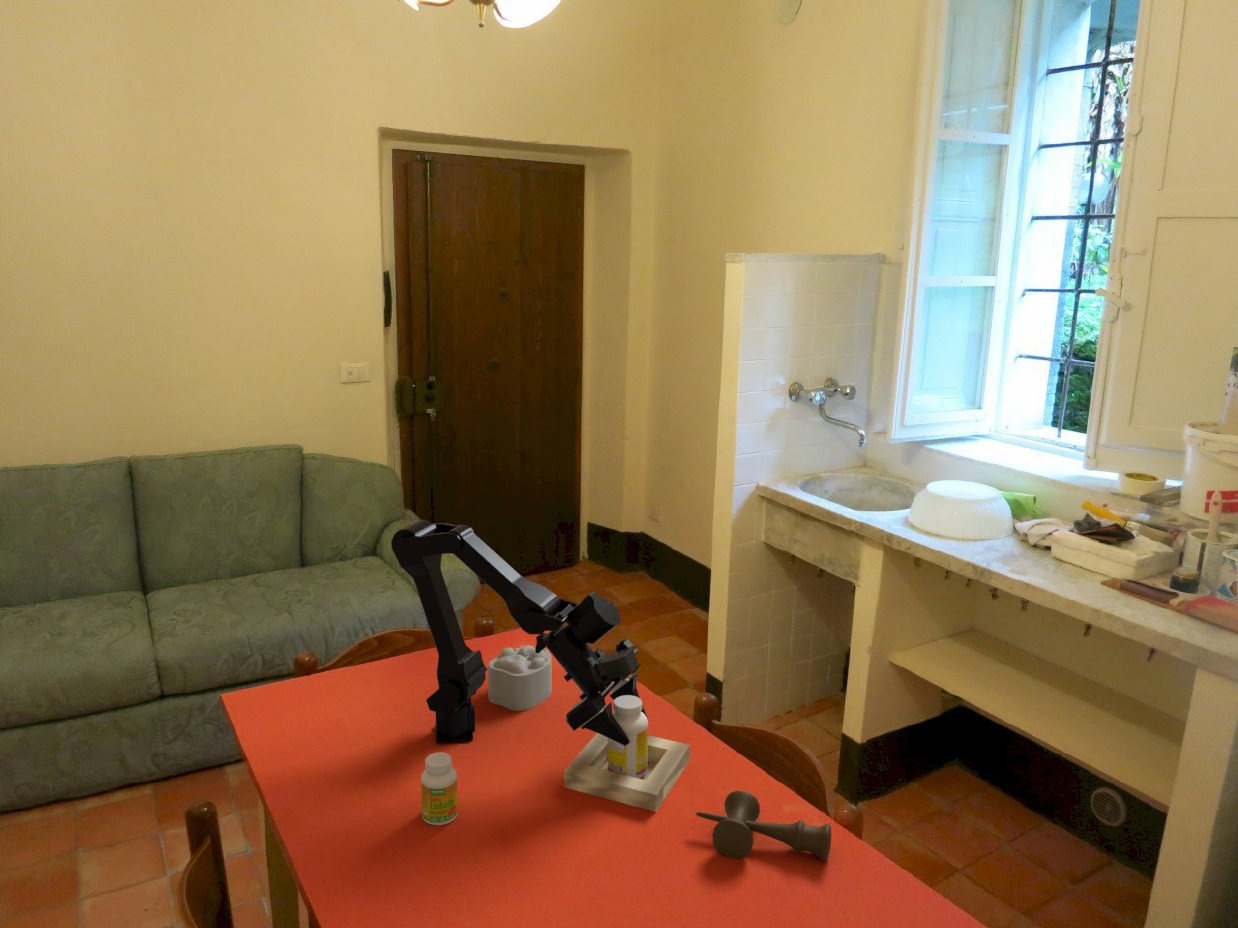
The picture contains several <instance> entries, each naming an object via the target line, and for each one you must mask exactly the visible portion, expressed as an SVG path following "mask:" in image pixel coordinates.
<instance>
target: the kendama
mask: <svg viewBox="0 0 1238 928" xmlns="http://www.w3.org/2000/svg"><path fill="white" fill-rule="evenodd" d="M724 812H725V814H726V816H724V815H719V814H715V813H709V812H701V811H697V812H695V815H696V816H697V817H699V818H702V819H705V820H710V821H714V822H718V823H716V825H715V826H714V828H713V831H712V836H711V837H712V843H713V845H714V847H715V849H716V850H717V851H718V852H719V853H720V854H721V855H723V856H725V857H728V858H734V859H741V858H745V857H748V855H749V854H750V853H751V852H752V849H753V847H754V836H753V833H752V832H755V833H757V834H760V835H763V836H766V837H769V838H772V839H774V840H777V841H779V842H782V843H784V844H786V845H788V846H789V847H790V848H791V849H792V850H793V852H795V853H798V852H799V853H800V852H803V851H804V852H808V853H811V854H813V855H816V856H817V857H818V858H819V859H820V861H822V862H826V861H827V859H828V857H829V855H830V852H831V845H832V827H831V825H830V823H825V824H823V825H821V826H812V825H808V824H806V823H805V822H804V821H803V820H802V819H799V820H798V821H796V822H794V823H774V822H763V821H757V820H758V819H759V816H760V813H761V806H760V803H759V801H758V798H757V797H756V796H755V795H754V794H752V793H751V792H748V791H744V790H734V791H731V792H730V793H728V795H727V796H726V797H725V800H724Z"/></svg>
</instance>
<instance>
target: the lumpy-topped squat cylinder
mask: <svg viewBox="0 0 1238 928" xmlns="http://www.w3.org/2000/svg"><path fill="white" fill-rule="evenodd" d="M535 649H536V646H533V645H527V644H526V645H523V646H522V647H514V648H512V647H505V648H503V649H502V650H501V651H500V654H499V655H498V656H496V657H494V658H493V659H492V660H490V661H489V662H488V665H487V675H488V676H487V680H488V681H487V682H488V683H487V684H488V685H487V686H488V687H487V688H488V690H487V691H488V701H489V703H492V704H494V705H498V706H502V707H504V708H506V709H509V710H511V711H514V712H523V711H528V710H530V709H533V708H535V707H537V706H538V705H541V704H542V703H543V702H545V701H546V700H547V699H548V698H549V697H551V694H552V691H553V690H552V684H553V683H552V680H553V679H552V677H553V675H552V671H553V670H552V667H553V665H552V662H553V660H552V653H551V652H550V651H549V650H548V649H547V648H544V649H543V650H542V651H541V652H540V653H536V652H535Z"/></svg>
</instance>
